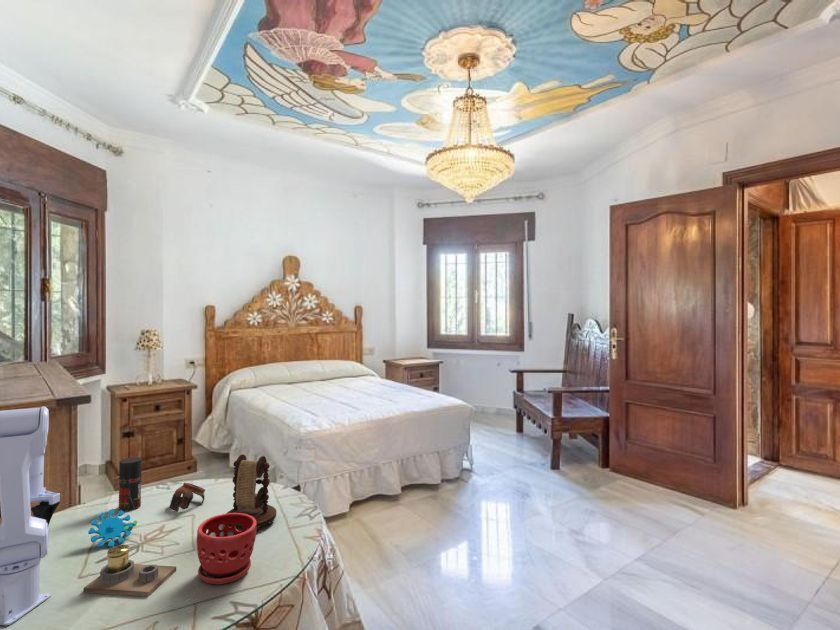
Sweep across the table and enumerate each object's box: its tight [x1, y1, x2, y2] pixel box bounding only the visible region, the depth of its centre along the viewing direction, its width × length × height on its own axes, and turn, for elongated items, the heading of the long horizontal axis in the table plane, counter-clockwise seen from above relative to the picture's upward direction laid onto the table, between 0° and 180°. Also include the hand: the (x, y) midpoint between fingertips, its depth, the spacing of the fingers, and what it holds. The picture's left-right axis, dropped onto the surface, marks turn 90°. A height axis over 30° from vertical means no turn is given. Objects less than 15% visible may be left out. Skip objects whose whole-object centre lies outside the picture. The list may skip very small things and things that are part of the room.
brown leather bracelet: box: [169, 482, 206, 512], centre depth 143 cm, size 12×10×8 cm
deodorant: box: [118, 456, 143, 513], centre depth 142 cm, size 6×6×15 cm
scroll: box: [225, 453, 277, 533], centre depth 133 cm, size 15×15×20 cm
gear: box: [87, 509, 138, 548], centre depth 122 cm, size 11×6×10 cm
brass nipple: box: [106, 544, 130, 574], centre depth 104 cm, size 4×4×6 cm
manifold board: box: [83, 559, 177, 597], centre depth 103 cm, size 10×15×3 cm, turn 86°
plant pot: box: [196, 512, 257, 585], centre depth 107 cm, size 13×13×12 cm
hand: (26, 532), depth 106 cm, fingers open, 7 cm apart
